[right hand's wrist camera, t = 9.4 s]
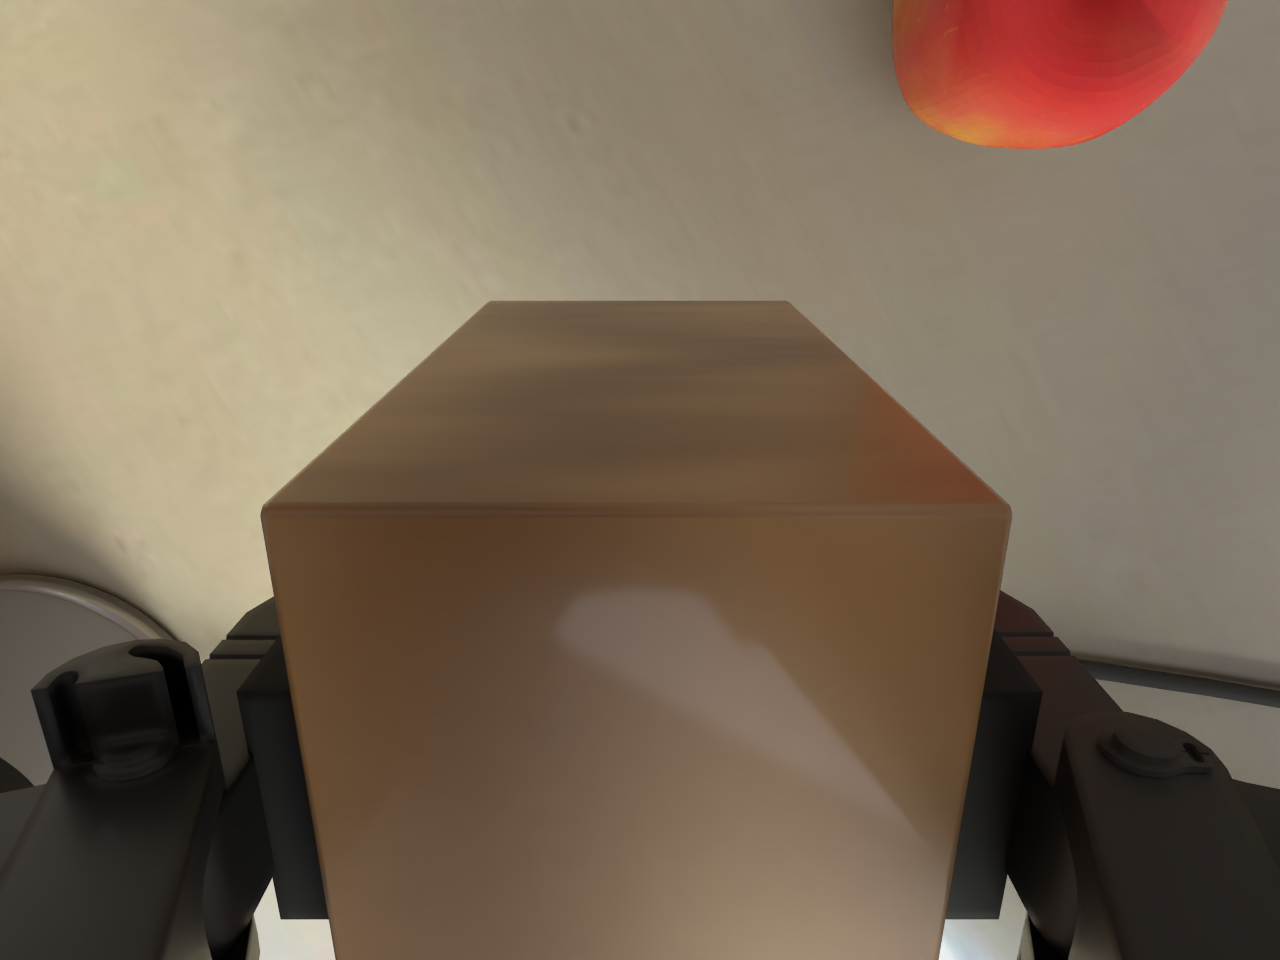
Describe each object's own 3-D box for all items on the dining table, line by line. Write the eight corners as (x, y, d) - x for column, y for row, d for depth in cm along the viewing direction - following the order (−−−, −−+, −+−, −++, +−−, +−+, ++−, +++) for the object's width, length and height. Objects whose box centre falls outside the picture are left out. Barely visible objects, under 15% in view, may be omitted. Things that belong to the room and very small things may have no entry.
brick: (789, 300, 16) (1018, 507, 6) (771, 609, 18) (917, 1107, 9) (487, 300, 16) (253, 506, 6) (506, 609, 18) (356, 1108, 9)
